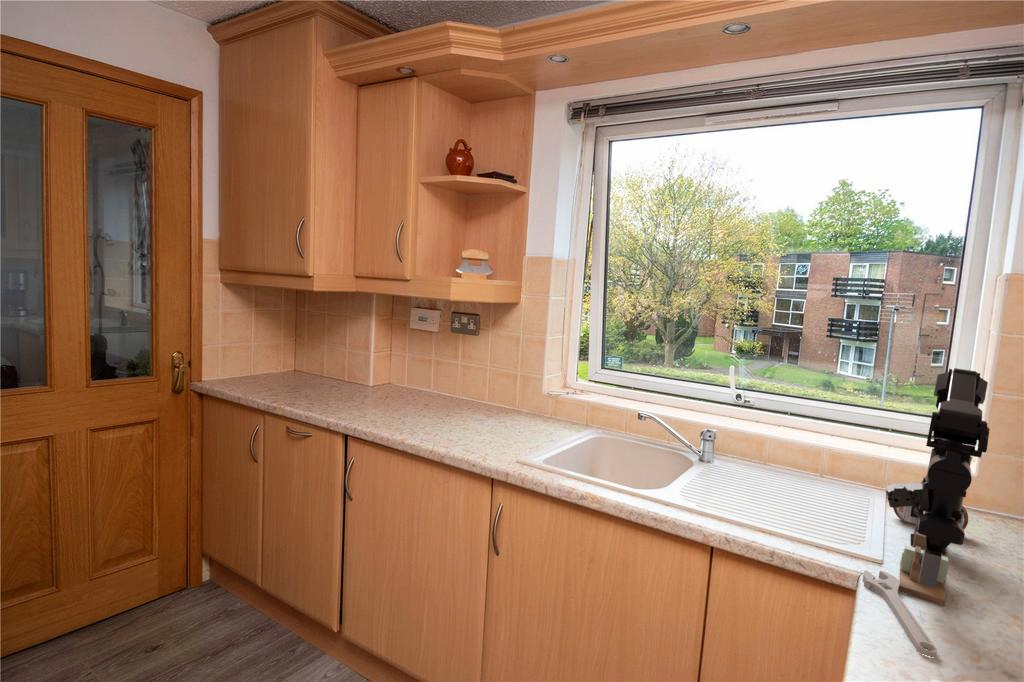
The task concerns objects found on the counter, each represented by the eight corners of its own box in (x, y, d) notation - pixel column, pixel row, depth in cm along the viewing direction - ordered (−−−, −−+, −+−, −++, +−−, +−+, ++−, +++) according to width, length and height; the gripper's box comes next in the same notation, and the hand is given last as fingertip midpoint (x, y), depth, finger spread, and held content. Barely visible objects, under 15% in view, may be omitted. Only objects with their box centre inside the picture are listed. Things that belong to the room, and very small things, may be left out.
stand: (900, 563, 121) (907, 527, 120) (941, 575, 117) (948, 538, 116) (899, 591, 110) (906, 552, 108) (944, 606, 106) (952, 565, 105)
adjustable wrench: (939, 663, 90) (941, 653, 90) (892, 651, 92) (894, 641, 92) (894, 581, 113) (895, 573, 113) (857, 573, 115) (858, 565, 115)
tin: (964, 535, 138) (971, 502, 136) (965, 540, 135) (972, 506, 134) (890, 515, 146) (896, 484, 145) (889, 520, 143) (895, 488, 142)
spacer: (899, 565, 117) (903, 544, 117) (944, 579, 113) (949, 557, 113) (899, 569, 116) (903, 548, 115) (945, 583, 112) (949, 561, 111)
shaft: (918, 560, 112) (923, 531, 111) (933, 564, 111) (939, 535, 110) (918, 583, 103) (924, 552, 102) (935, 588, 102) (941, 557, 101)
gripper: (894, 454, 115) (880, 527, 117) (891, 479, 100) (875, 563, 102) (964, 469, 109) (948, 547, 111) (972, 498, 93) (954, 587, 96)
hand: (930, 559), depth 105 cm, fingers closed
